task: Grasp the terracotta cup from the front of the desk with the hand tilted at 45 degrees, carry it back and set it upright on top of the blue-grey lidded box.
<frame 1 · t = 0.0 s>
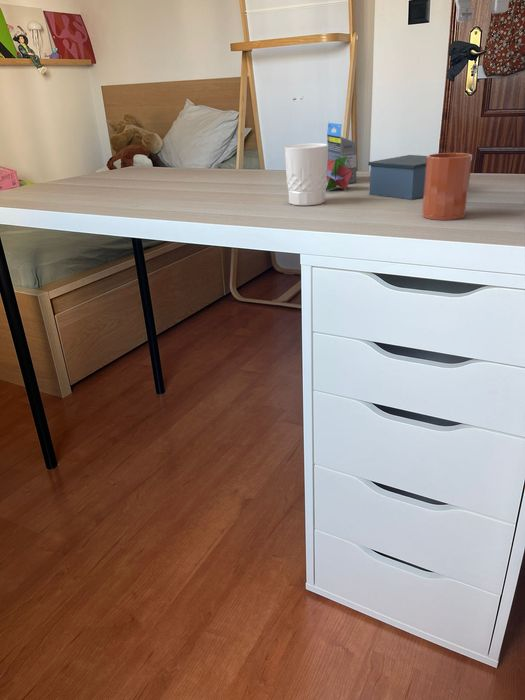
hand: (480, 17, 78), 27 cm above the table, tool pointing down, fingers open, 8 cm apart
white cup: (306, 203, 99), on the table
cup: (443, 215, 83), on the table
blue-grey lidded box: (409, 192, 103), on the table
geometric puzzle: (336, 190, 110), on the table
label tape box: (341, 182, 120), on the table
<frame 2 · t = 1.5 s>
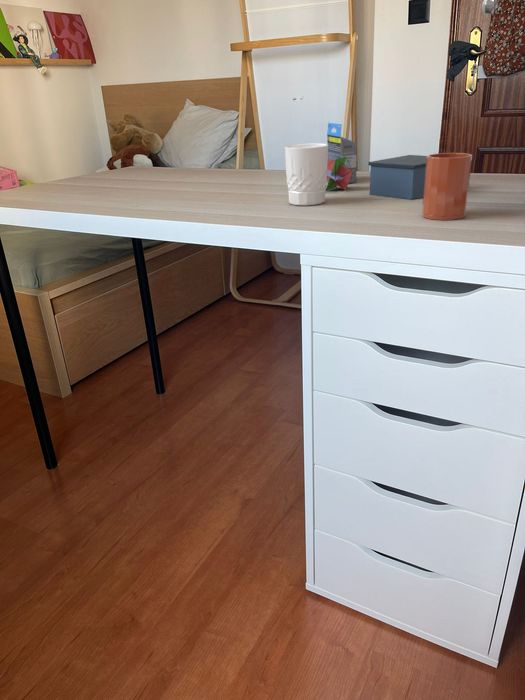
hand: (519, 14, 72), 27 cm above the table, tool tilted 45°, fingers open, 8 cm apart
nothing on the table moved.
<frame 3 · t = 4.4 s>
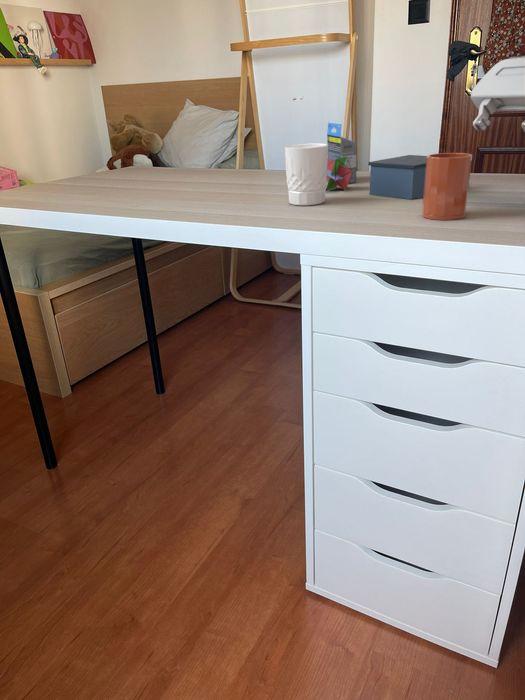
hand: (501, 128, 80), 12 cm above the table, tool tilted 45°, fingers open, 8 cm apart
nothing on the table moved.
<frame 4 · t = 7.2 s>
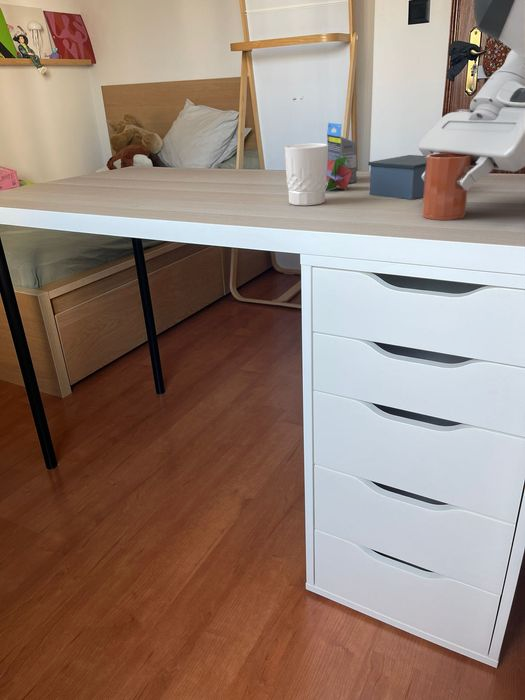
hand: (443, 183, 81), 5 cm above the table, tool tilted 45°, fingers closed on cup, 6 cm apart
cup: (443, 215, 83), on the table, touching gripper
everything else where it was.
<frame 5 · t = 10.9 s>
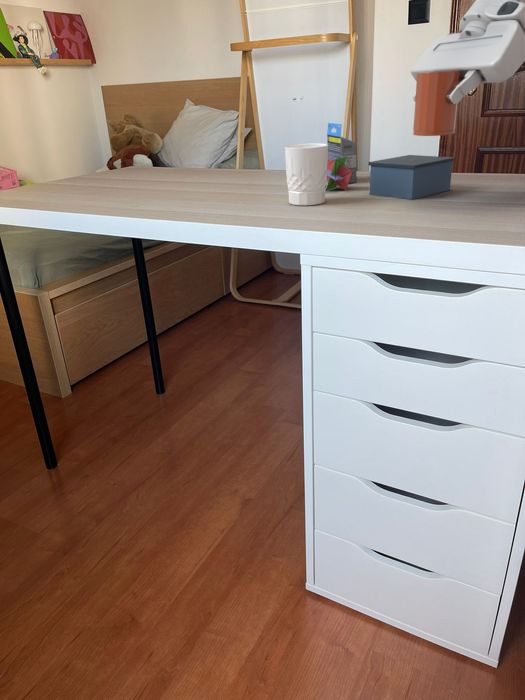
hand: (433, 101, 84), 16 cm above the table, tool tilted 45°, fingers closed on cup, 6 cm apart
cup: (433, 134, 86), point 11 cm above the table, touching gripper
everything else where it was.
when the fingers open (11 cm above the table, at t = 14.7 s): cup stays where it is, point 6 cm above the table.
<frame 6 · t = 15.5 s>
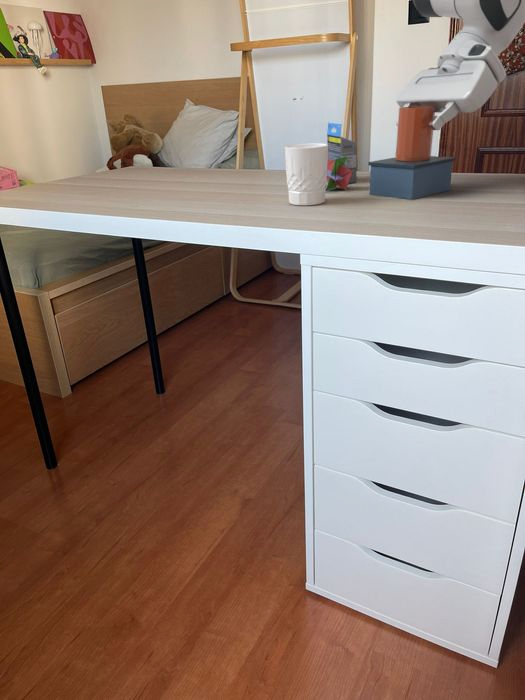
hand: (415, 127, 97), 12 cm above the table, tool tilted 45°, fingers open, 8 cm apart
cup: (412, 159, 100), point 6 cm above the table, touching gripper
everything else where it was.
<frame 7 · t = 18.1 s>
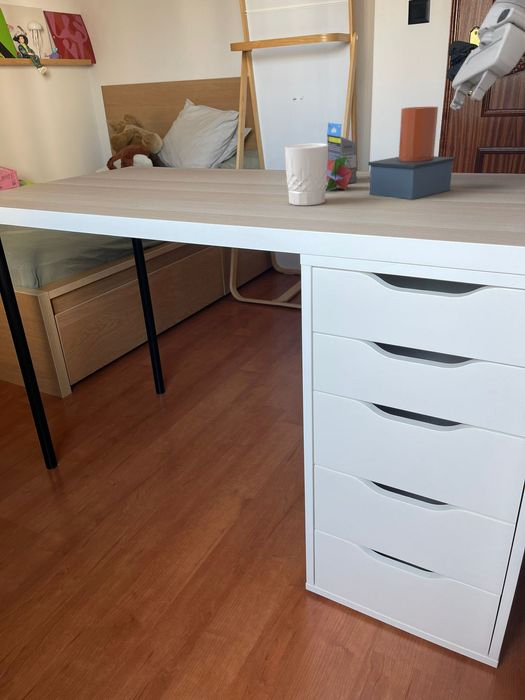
hand: (464, 104, 101), 15 cm above the table, tool tilted 30°, fingers open, 8 cm apart
cup: (416, 159, 100), point 6 cm above the table, touching blue-grey lidded box
everything else where it was.
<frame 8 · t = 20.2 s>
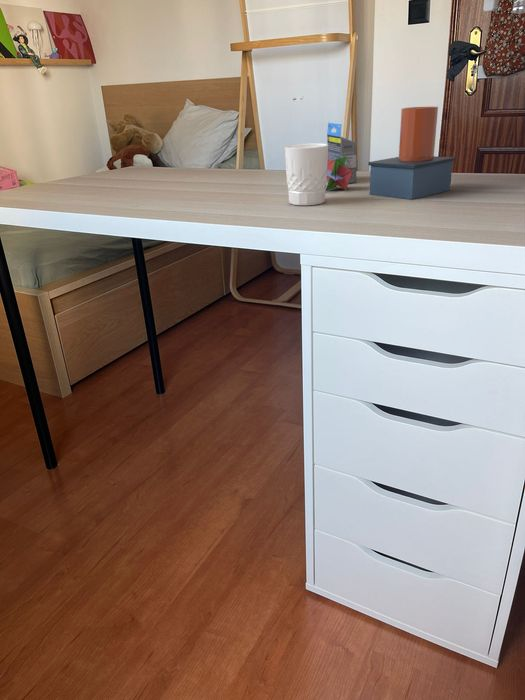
hand: (505, 12, 90), 29 cm above the table, tool pointing down, fingers open, 8 cm apart
nothing on the table moved.
at the end: cup inside the target area on the blue-grey lidded box (0.9 cm from its centre), point 6.0 cm above the blue-grey lidded box's base; cup tilted 0°; the gripper is holding nothing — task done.
